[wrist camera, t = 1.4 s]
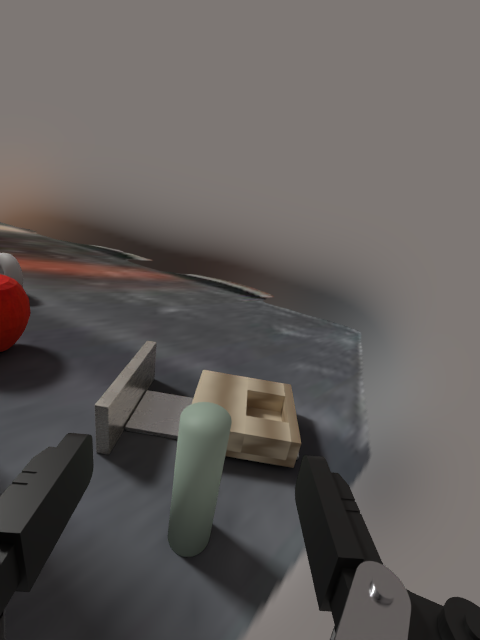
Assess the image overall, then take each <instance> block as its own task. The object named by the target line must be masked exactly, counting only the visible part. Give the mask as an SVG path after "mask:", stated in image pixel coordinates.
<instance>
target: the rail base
mask: <svg viewBox="0 0 480 640" xmlns="http://www.w3.org/2000/svg"><path fill="white" fill-rule="evenodd" d="M155 359H156V342H152V341H147V342H146V343H145V344H144V345H143V347H142V348H141V349H140V350H139V351H138V353H137V354H136V355H135V356H134V358H133V359H132V360H131V361H130V362H129V364H128V365H127V366H126V367H125V369H124V370H123V371H122V372H121V374H120V375H119V376H118V377H117V378H116V380H115V381H114V382H113V383H112V385H111V386H110V387H109V388H108V389H107V391H106V392H105V393H104V394H103V396H102V397H101V398H100V399H99V401H98V402H97V403H96V404H95V426H96V452H97V453H101V454H107V455H109V454H110V452H111V451H112V449H113V447H114V446H115V444H116V442H117V441H118V439H119V437H120V436H121V434H122V432H123V431H124V429H125V431H131V432H137V433H143V434H149V435H155V436H160V437H166V438H172V439H178V432H179V423H180V415H181V413H182V411H183V410H184V409H185V408H186V407H188V406H189V405H191V404H192V401H193V398H190V397H184V396H178V395H172V394H166V393H160V392H155V391H149V390H148V389H149V387H150V385H151V384H152V382H153V380H154V377H155ZM298 459H299V452H298V455H297V459H296V460H298Z"/></svg>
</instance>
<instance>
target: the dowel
mask: <svg viewBox="0 0 480 640" xmlns="http://www.w3.org/2000/svg"><path fill="white" fill-rule="evenodd" d="M231 423H232V420H231V416H230V414H229V413H228V412H227V410H225V409H224V408H223V407H221V406H219V405H217V404H214V403H210V402H198V403H194V404H191V405H189V406H188V407H186V408H185V409H184V410H183V411H182V413H181V415H180V423H179V432H178V442H177V452H176V461H175V471H174V481H173V491H172V500H171V510H170V520H169V529H168V541H169V545H170V547H171V548H172V550H173V551H174V552H175V553H176V554H178V555H180V556H183V557H192V556H195V555H198V554H199V553H201V552H202V551H203V550H204V549H205V548H206V546H207V544H208V542H209V539H210V534H211V528H212V523H213V518H214V513H215V507H216V502H217V497H218V492H219V486H220V481H221V476H222V471H223V465H224V460H225V455H226V450H227V444H228V439H229V434H230V429H231Z"/></svg>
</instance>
